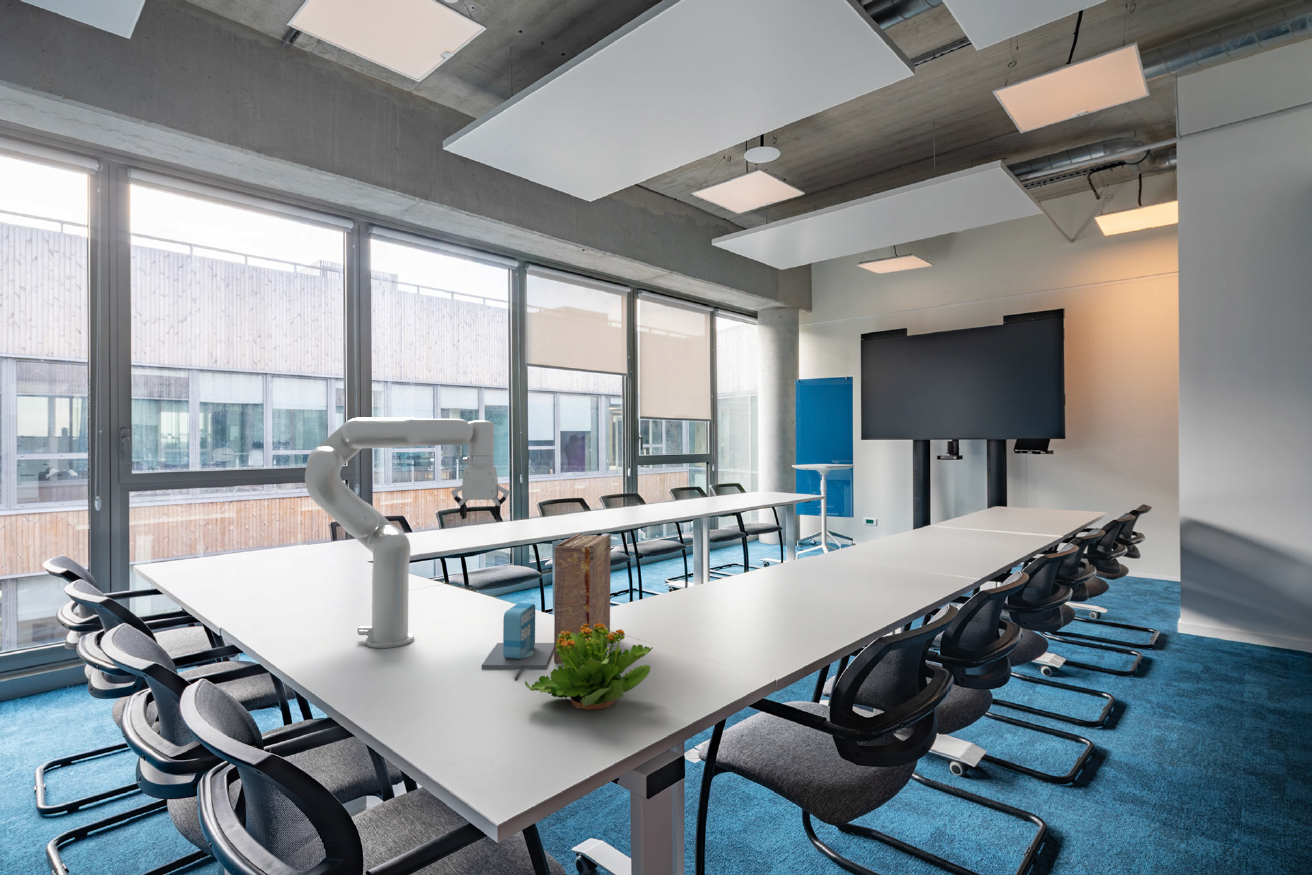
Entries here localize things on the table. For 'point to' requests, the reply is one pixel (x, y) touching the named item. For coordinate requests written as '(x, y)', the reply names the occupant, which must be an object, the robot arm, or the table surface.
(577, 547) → the book
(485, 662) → the charging mat
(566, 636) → the potted flower
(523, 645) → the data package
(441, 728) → the table surface
